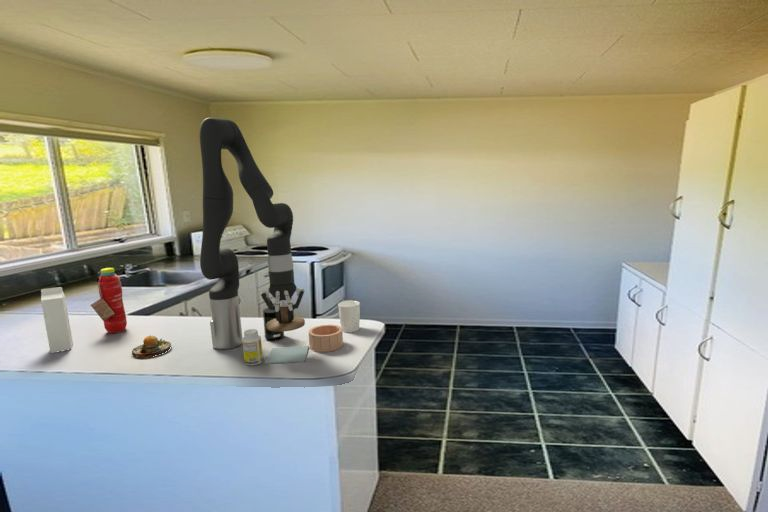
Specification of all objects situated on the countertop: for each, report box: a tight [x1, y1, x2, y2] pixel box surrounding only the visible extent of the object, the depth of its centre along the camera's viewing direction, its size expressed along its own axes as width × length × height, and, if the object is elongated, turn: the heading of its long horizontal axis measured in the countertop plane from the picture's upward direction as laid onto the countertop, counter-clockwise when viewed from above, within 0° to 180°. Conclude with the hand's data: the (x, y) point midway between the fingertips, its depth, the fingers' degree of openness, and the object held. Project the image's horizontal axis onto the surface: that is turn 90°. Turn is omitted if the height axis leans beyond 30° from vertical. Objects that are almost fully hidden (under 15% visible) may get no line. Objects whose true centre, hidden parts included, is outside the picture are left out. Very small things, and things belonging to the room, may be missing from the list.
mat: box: [265, 345, 310, 365], centre depth 143 cm, size 12×12×1 cm
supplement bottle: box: [242, 328, 264, 366], centre depth 138 cm, size 6×6×10 cm
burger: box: [131, 335, 172, 359], centre depth 150 cm, size 12×12×8 cm
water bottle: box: [90, 267, 128, 334], centre depth 170 cm, size 12×8×25 cm, turn 164°
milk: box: [40, 286, 74, 354], centre depth 155 cm, size 6×6×22 cm
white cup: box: [337, 300, 361, 333], centre depth 165 cm, size 8×8×10 cm
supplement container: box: [262, 307, 285, 342], centre depth 159 cm, size 7×7×10 cm
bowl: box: [308, 324, 344, 353], centre depth 150 cm, size 11×11×6 cm
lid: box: [266, 305, 306, 333], centre depth 141 cm, size 12×12×6 cm
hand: (285, 321), depth 141 cm, fingers closed on lid, 2 cm apart
